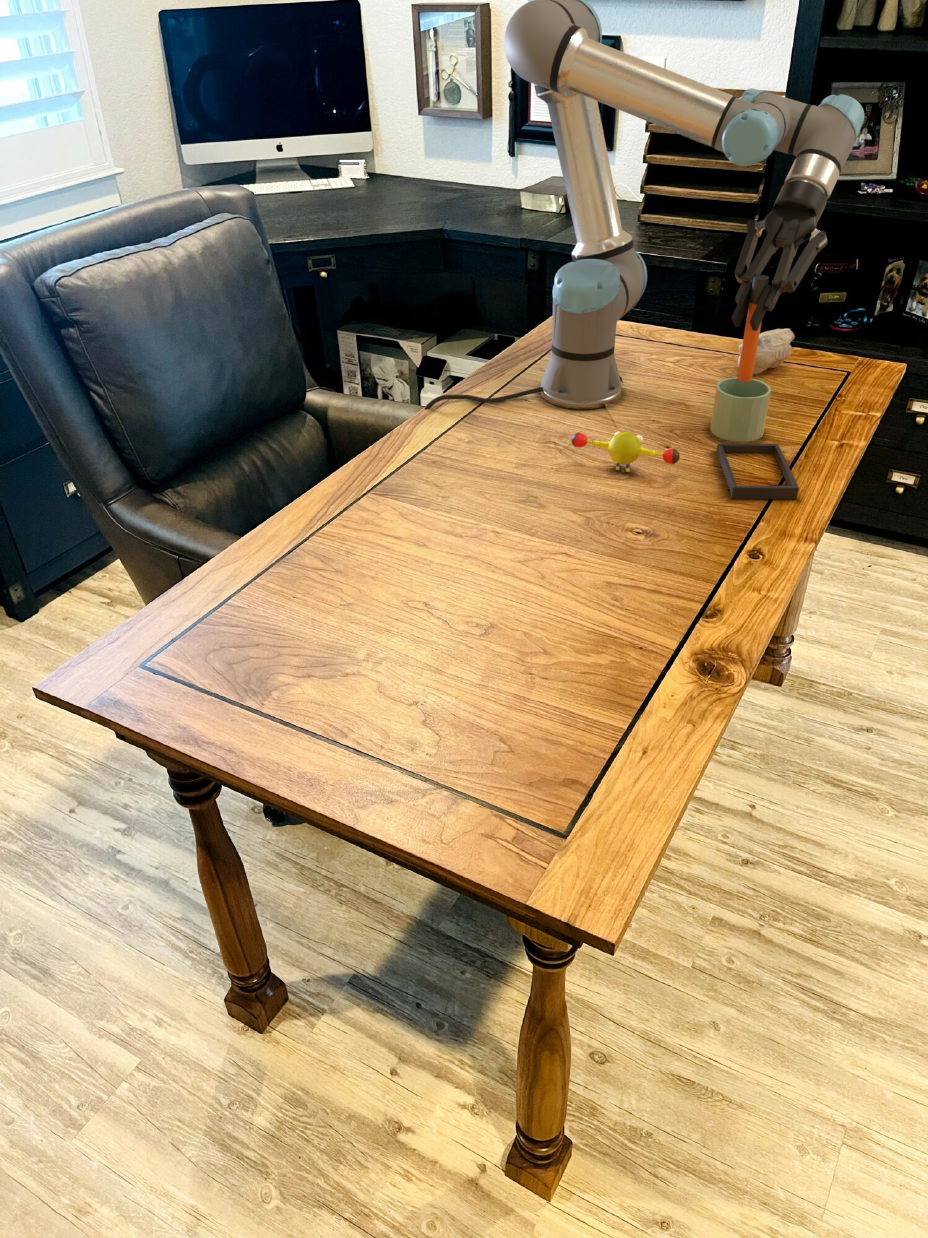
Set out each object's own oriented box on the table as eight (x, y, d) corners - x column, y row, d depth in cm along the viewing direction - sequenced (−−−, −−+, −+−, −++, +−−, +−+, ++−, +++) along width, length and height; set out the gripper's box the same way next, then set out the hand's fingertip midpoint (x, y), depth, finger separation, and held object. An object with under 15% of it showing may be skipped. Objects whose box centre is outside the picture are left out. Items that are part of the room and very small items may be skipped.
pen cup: (719, 446, 164) (727, 400, 159) (702, 424, 171) (709, 378, 166) (770, 443, 165) (779, 396, 160) (751, 420, 172) (759, 375, 167)
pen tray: (796, 499, 149) (799, 487, 148) (731, 498, 150) (733, 487, 148) (775, 454, 161) (778, 443, 160) (715, 454, 162) (717, 443, 161)
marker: (740, 382, 161) (756, 279, 151) (735, 376, 163) (751, 274, 153) (753, 381, 161) (771, 278, 151) (748, 375, 163) (765, 274, 153)
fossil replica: (725, 374, 190) (775, 388, 186) (734, 335, 184) (785, 348, 181) (744, 350, 197) (792, 362, 194) (753, 311, 192) (803, 323, 188)
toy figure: (681, 473, 157) (686, 435, 153) (672, 488, 153) (677, 449, 149) (576, 454, 163) (578, 417, 159) (565, 468, 159) (567, 430, 155)
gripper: (855, 213, 153) (794, 345, 153) (763, 200, 161) (705, 326, 161) (850, 184, 147) (786, 322, 146) (755, 172, 155) (694, 302, 154)
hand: (744, 324), depth 153 cm, fingers closed on marker, 2 cm apart
